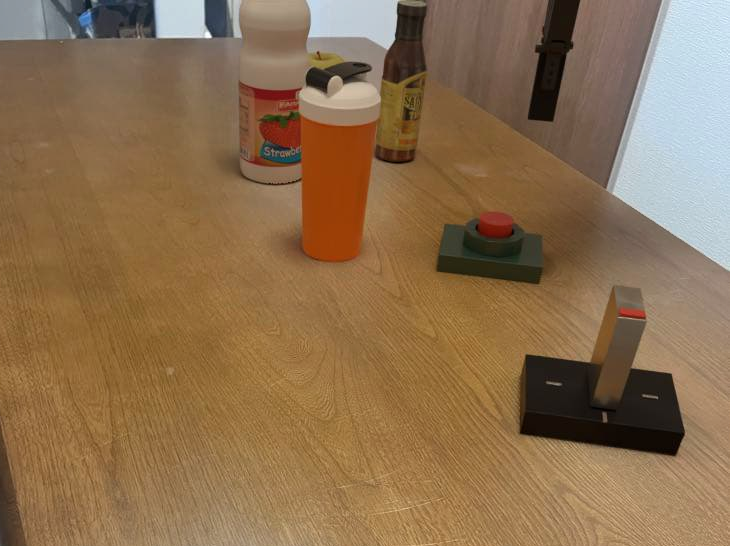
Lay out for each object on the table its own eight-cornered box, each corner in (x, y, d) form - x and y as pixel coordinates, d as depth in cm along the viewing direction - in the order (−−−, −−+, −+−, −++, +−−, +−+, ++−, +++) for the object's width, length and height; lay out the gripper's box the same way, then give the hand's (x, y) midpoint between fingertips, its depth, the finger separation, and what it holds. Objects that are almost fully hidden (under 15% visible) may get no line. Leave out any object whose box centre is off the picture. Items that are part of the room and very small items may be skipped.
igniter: (538, 251, 108) (545, 220, 105) (538, 284, 101) (546, 252, 99) (442, 240, 109) (446, 208, 106) (436, 272, 102) (441, 239, 100)
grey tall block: (586, 372, 83) (613, 281, 77) (612, 375, 83) (641, 285, 76) (590, 407, 79) (618, 314, 72) (616, 410, 78) (648, 318, 72)
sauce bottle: (403, 167, 126) (420, 11, 113) (366, 157, 129) (379, 2, 115) (423, 154, 131) (442, 2, 117) (387, 145, 133) (402, -5, 119)
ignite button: (511, 227, 104) (514, 213, 103) (510, 241, 101) (513, 227, 100) (478, 223, 104) (480, 209, 103) (476, 237, 101) (479, 223, 100)
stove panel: (663, 394, 85) (672, 371, 84) (676, 456, 78) (686, 432, 76) (520, 375, 87) (526, 351, 85) (519, 434, 79) (525, 410, 77)
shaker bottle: (383, 250, 106) (401, 70, 92) (334, 273, 101) (346, 85, 87) (328, 227, 110) (337, 51, 96) (279, 248, 105) (281, 65, 91)
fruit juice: (273, 155, 127) (276, -77, 108) (320, 174, 123) (331, -64, 104) (225, 170, 122) (219, -71, 103) (272, 191, 118) (275, -57, 98)
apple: (292, 93, 149) (294, 41, 144) (349, 97, 149) (352, 45, 144) (288, 112, 142) (289, 57, 136) (348, 116, 142) (351, 62, 136)
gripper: (550, -169, 83) (506, 97, 99) (554, -157, 74) (504, 135, 90) (630, -164, 82) (573, 103, 98) (644, -152, 73) (578, 142, 89)
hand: (540, 118), depth 94 cm, fingers closed
